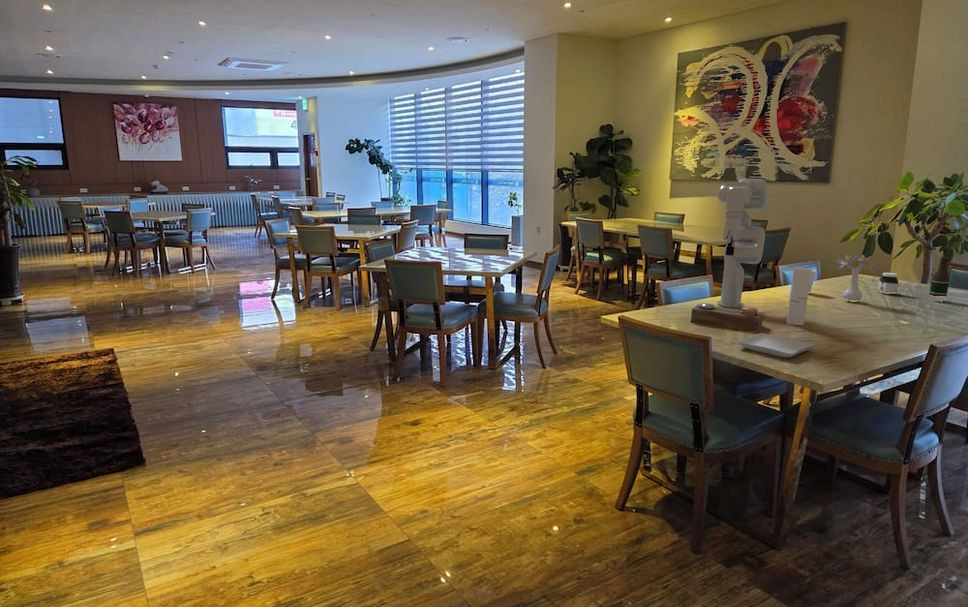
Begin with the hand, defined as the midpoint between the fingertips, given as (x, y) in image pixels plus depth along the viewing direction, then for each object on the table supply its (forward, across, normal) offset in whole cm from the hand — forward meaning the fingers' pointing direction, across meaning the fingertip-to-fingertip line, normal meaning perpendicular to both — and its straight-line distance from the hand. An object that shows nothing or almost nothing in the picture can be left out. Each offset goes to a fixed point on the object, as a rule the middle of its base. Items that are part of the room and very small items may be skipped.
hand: (729, 255), depth 282 cm
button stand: (+29, +13, +4) cm, 32 cm away
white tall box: (+29, -6, +30) cm, 42 cm away
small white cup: (+28, +13, -5) cm, 31 cm away
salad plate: (+30, +44, +28) cm, 60 cm away
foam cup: (+29, -89, +26) cm, 97 cm away
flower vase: (+29, -78, +49) cm, 97 cm away
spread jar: (+29, -116, +68) cm, 138 cm away
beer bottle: (+29, -110, +89) cm, 144 cm away
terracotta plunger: (+27, +13, +13) cm, 33 cm away
